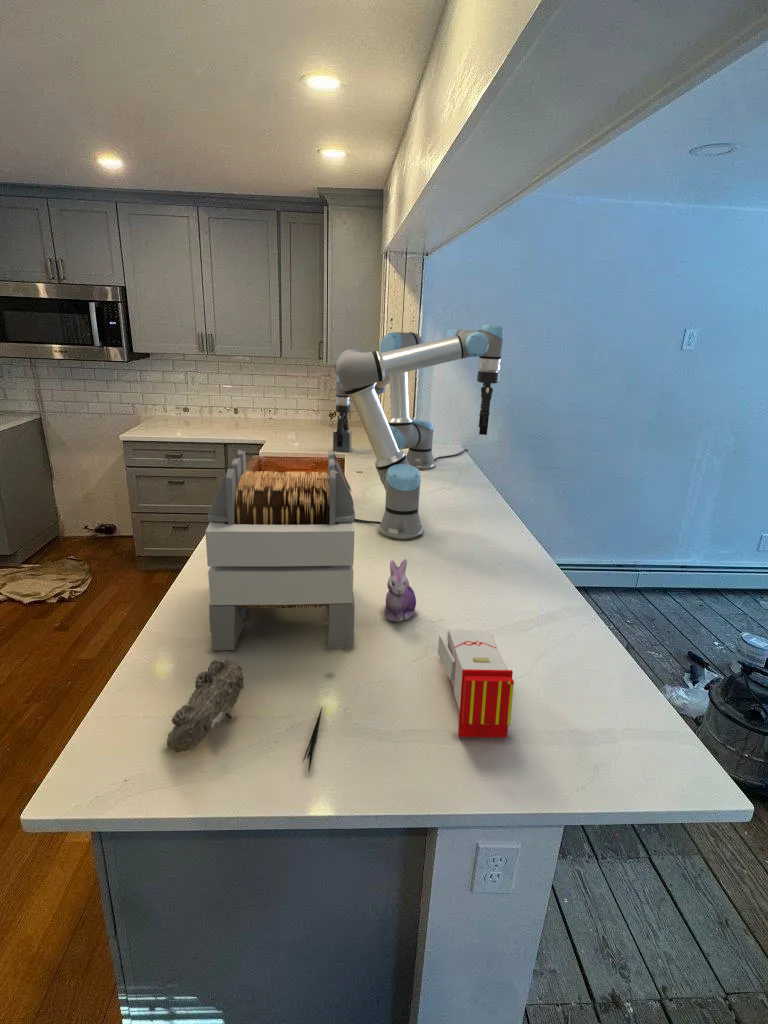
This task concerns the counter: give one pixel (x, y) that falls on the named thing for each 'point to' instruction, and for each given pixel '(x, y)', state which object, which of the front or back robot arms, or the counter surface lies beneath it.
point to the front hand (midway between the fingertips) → (482, 430)
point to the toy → (478, 682)
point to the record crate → (281, 548)
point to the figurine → (399, 594)
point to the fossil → (206, 705)
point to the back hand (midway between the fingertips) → (342, 444)
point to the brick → (343, 441)
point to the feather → (313, 740)
